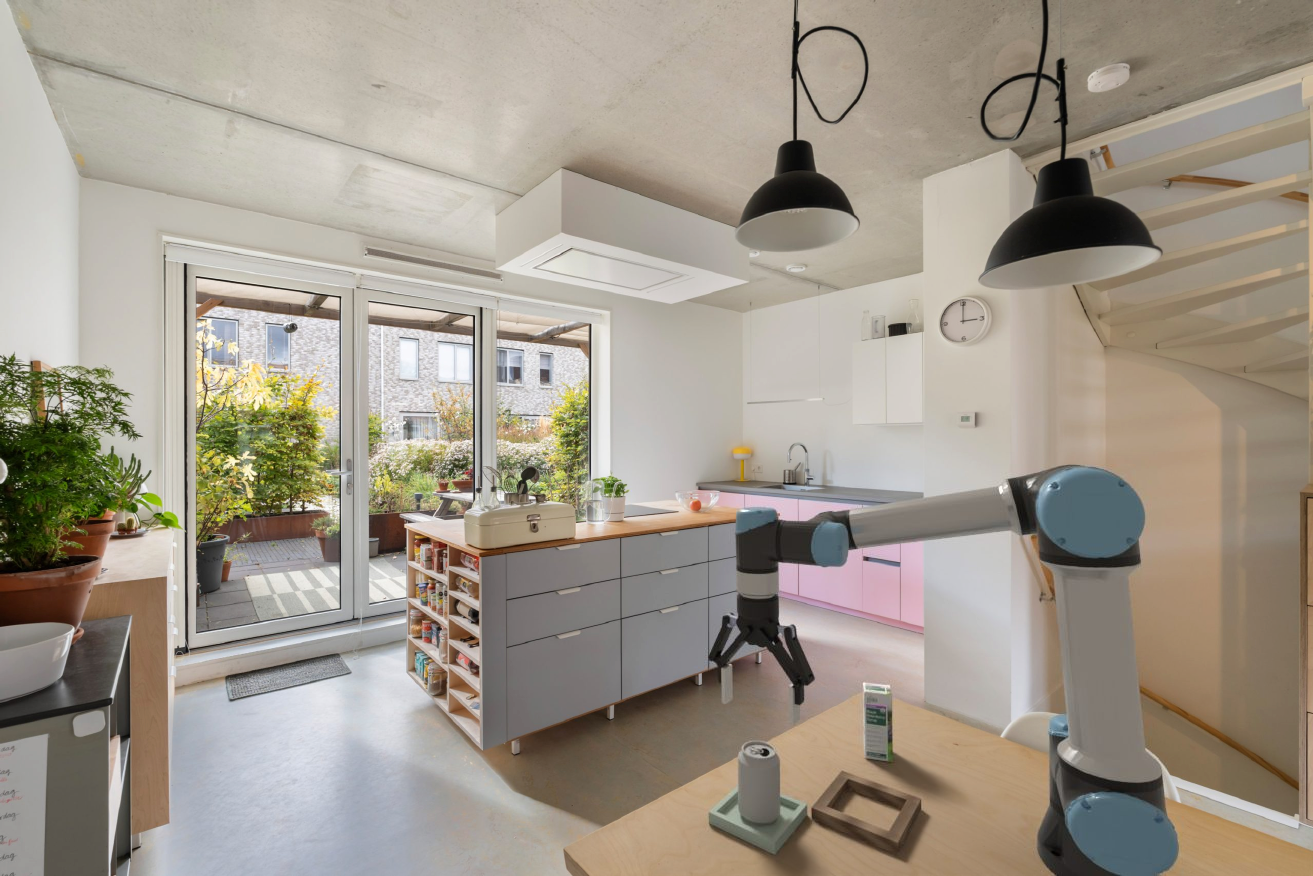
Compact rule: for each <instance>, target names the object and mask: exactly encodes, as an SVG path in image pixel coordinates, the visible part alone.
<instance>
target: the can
mask: <svg viewBox="0 0 1313 876" xmlns="http://www.w3.org/2000/svg"><path fill="white" fill-rule="evenodd" d="M740 749H741V750H740V751H739V752H738V754H737V785H738V809H739V812H740V814H741V815H742V816H743V817H744V818H745V819H746V820H747V821H748V822H750V823H753V824H756V825H767V824H770V823H772V822H773V821H774V820H776V819H777V818H778V817H779V815H780V793H781V760H780V756H779V754H778V753H777V749H776V748H775V746H774V745H772V744H771V743H769V742H767V741H763V740H750V741H747V742H745V743H744V744H742V745H741V748H740Z"/></svg>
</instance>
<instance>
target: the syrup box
mask: <svg viewBox="0 0 1313 876" xmlns="http://www.w3.org/2000/svg"><path fill="white" fill-rule="evenodd" d="M862 719H863V721H862V723H863V726H862V730H863V731H862V732H863V733H862V734H863V735H862V736H863V738H862V739H863V744H862V745H863V754H864V759H867V760H876V761H883V762H888V763H893V761H894V754H893V753H894V750H893V749H894V748H893V747H894V746H893V745H894V743H893V742H894V741H893V736H894V734H893V695H892V689H891V686H890V684H880V683H879V684H878V683H872V682H871V683H870V682H863V683H862Z"/></svg>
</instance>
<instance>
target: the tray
mask: <svg viewBox="0 0 1313 876" xmlns="http://www.w3.org/2000/svg"><path fill="white" fill-rule="evenodd" d="M807 816H808V803H806V802H803V801H801V800H798V799H796V798H793V797H791V796H788V795H786V794H783V793H782V792H780V815H779V817H778V818H777V819H776V820H774V821H773V822H772V823H770V824H767V825H756V824H753V823H750V822H748V821H747V820H746V819H745V818H744V817H743V816H742V815H741V814H740V812H739V809H738V784H737V785H736V786H735V787H734V788H733V789H732V790H731V791H729V793H728V794H726V796H724V797H723V798H722V799H721V800H719V802H718V803H717V804H715V806H714V807H712V808H711V809H710V810H709V811H708V824H709V825H712V826H714V827H715V828H718V829H721V830H722V831H724V832H727V834H730V835H732V836H734V837H736V838H739V839H741V840H743V841H745V842H747V843H749V844H751V845H753V846H755V847H757V848H760V849H762V850H764V851H766V852H768V853H769V854H771V855H774V856H775V855H776V854H777V853H778V852H779V851H780V850H781V848H782V847H783V846H784V844H786V842H787V841H788V839H789V838H790V837H791V835H793V833H795V831H797V828H798V827H799V826H800V825H801V823H802V822H803V821H804V820H805V819H806V817H807Z"/></svg>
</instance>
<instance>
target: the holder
mask: <svg viewBox="0 0 1313 876" xmlns="http://www.w3.org/2000/svg"><path fill="white" fill-rule="evenodd" d="M848 790H850V791H853V792H856V793H859V794H862V795H864V796H867V797H869V798H871V799H875V800H877V801H879V802H883V803H886V804H888V805H890V806H893V807H897V808H899V809H901V810H900V811H899V813H898V815H897V817H896V818H895V819H894V821H893V823H892V824H891V825H892V826H891V827H890V828H889V830H887V829H884V828H882V827H879V826H877V825H873V824H871V823H870V822H866V821H864V820H861V819H860V818H856V817H854V816H851V815H850V814H847V813H844V812H842V811H839V810H837V809H834V808H835V807H836V806H837V804H838V803H839V802H840V800H841V799H842V797H843V796H844V795H845V793H847V791H848ZM921 812H922V798H920V797H918V796H915V795H912V794H909V793H906V792H904V791H900V790H898V789H895V788H893V787H890V786H887V785H883V784H881V783H878V782H875V781H874V780H869V779H867V778H864V777H862V776H859V775H856V774H853V773H850V772H847V771H844V770H840V772H839V774H837V776H836V777H835V778H834V779H833V781H832V782H831V783H830V784H829V786H827V787H826V789H825V790H824V791H823V792H822V794H821V795H820V796H819V798H817V800H816V802H815V803H814V804H813V805H812V806H811V816H810V817H811V819H812V820H814V821H817V822H819V823H821V824H823V825H826V826H828V827H831V828H833V829H835V830H837V831H840V832H841V833H845V834H847V835H850V836H851V837H854V838H856V839H859V840H862V841H864V842H867V843H868V844H871V845H872V846H876V847H878V848H880V849H883V850H884V851H888V852H890V853H892V854H895V855H899V853H900V852H901V849H902V848H903V846H904V844H905V842H906V840H907V838H908V837H909V834H910V832H911V830H912V828H913V827H914V824H915V823H916V820H917V819H918V817H919V815H920V813H921Z"/></svg>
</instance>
